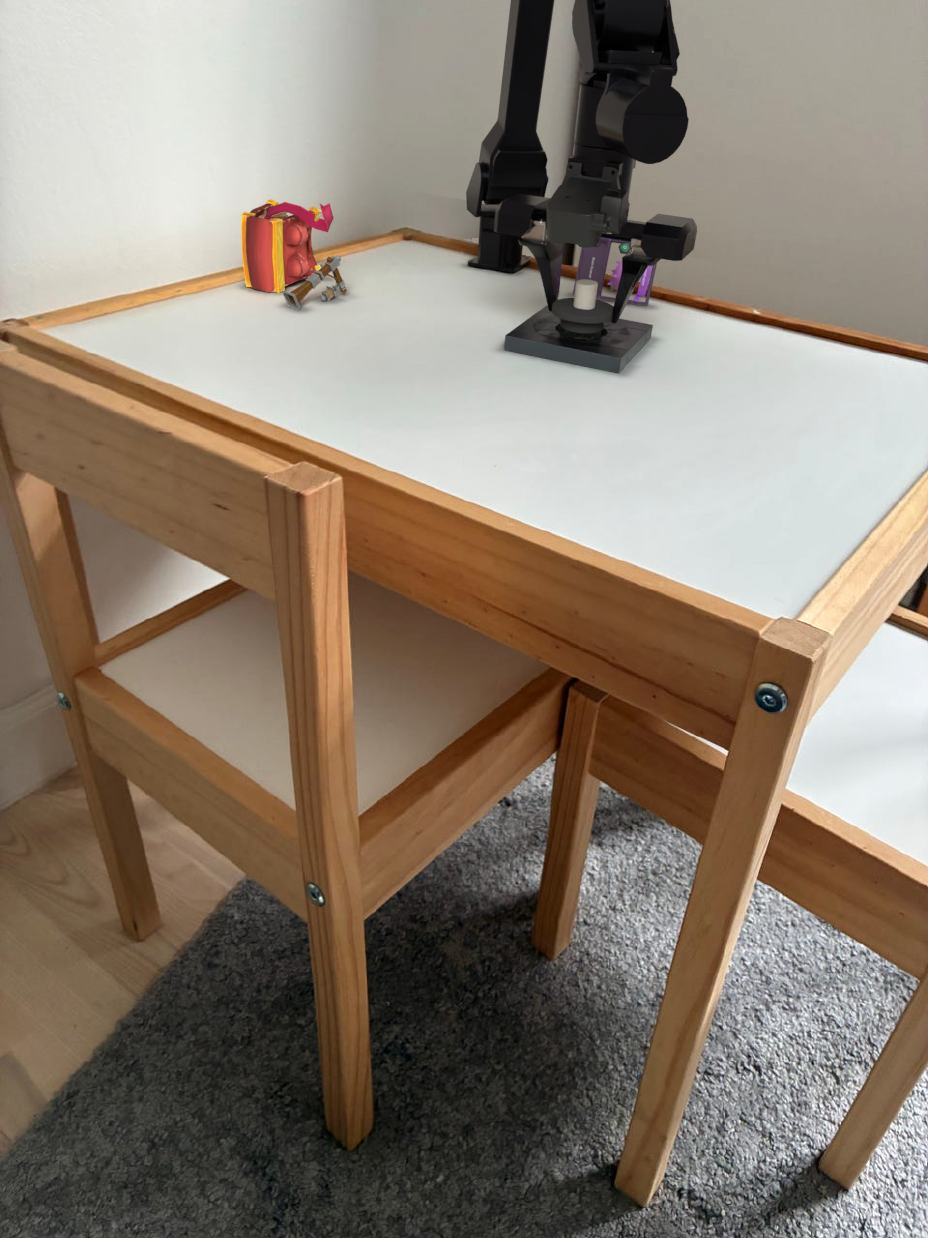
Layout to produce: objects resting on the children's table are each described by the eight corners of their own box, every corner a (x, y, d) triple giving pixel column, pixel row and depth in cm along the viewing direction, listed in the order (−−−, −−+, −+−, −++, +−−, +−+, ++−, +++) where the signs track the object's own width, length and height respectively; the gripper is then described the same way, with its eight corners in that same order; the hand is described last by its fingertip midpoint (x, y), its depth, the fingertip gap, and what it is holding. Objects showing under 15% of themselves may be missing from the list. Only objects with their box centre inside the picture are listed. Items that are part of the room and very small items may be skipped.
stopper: (562, 312, 95) (567, 269, 92) (620, 323, 93) (627, 279, 90) (541, 329, 90) (545, 284, 88) (602, 341, 88) (608, 295, 86)
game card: (582, 233, 104) (659, 243, 102) (590, 240, 109) (664, 250, 107) (571, 293, 106) (646, 305, 104) (579, 298, 111) (651, 309, 109)
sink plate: (545, 318, 99) (546, 304, 98) (650, 338, 95) (653, 324, 94) (504, 350, 90) (505, 335, 89) (618, 373, 86) (621, 357, 85)
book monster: (277, 266, 110) (359, 290, 106) (228, 284, 103) (313, 310, 99) (273, 172, 103) (360, 193, 99) (220, 185, 97) (311, 208, 93)
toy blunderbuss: (356, 287, 102) (342, 251, 98) (307, 329, 99) (291, 294, 95) (345, 283, 103) (331, 248, 99) (296, 325, 100) (281, 290, 96)
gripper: (476, 142, 79) (466, 321, 88) (685, 169, 73) (652, 357, 82) (522, 129, 87) (509, 293, 96) (713, 152, 81) (680, 324, 90)
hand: (582, 316), depth 91 cm, fingers closed on stopper, 6 cm apart
